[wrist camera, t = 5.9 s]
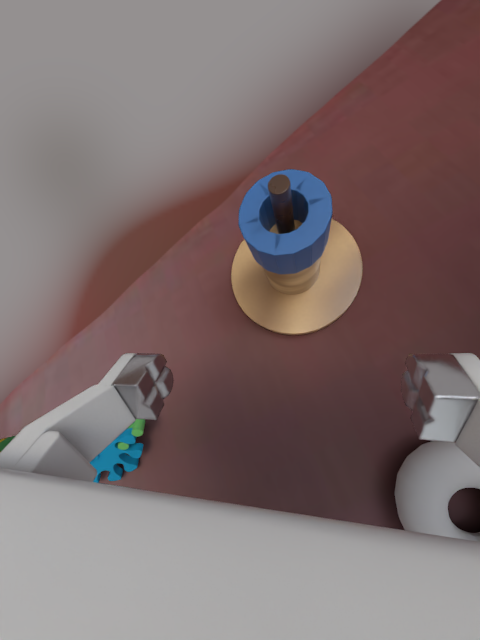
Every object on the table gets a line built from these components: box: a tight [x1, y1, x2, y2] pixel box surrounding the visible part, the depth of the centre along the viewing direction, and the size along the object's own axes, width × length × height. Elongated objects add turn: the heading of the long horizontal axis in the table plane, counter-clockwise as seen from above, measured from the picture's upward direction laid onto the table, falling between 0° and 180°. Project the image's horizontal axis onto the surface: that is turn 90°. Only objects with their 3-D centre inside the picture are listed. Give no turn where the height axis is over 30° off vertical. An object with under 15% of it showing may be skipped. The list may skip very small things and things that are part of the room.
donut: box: [394, 441, 480, 542], centre depth 19 cm, size 10×4×10 cm
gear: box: [90, 419, 145, 483], centre depth 27 cm, size 11×6×10 cm
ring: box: [239, 169, 332, 275], centre depth 18 cm, size 6×6×4 cm
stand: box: [231, 174, 363, 335], centre depth 20 cm, size 13×13×14 cm
